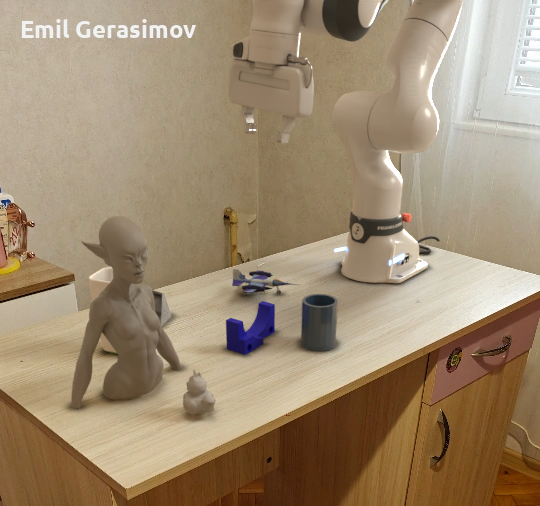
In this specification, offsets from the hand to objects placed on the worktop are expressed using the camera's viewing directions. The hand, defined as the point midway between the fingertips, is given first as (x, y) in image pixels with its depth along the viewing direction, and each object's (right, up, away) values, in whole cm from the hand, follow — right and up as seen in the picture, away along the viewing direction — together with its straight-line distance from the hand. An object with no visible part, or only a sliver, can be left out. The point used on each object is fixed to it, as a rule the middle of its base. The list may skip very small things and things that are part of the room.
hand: (265, 138), depth 133 cm
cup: (-28, -38, +7) cm, 48 cm away
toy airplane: (-1, -21, +31) cm, 38 cm away
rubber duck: (-11, -52, -13) cm, 55 cm away
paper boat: (-25, -29, +20) cm, 43 cm away
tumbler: (+10, -36, +9) cm, 39 cm away
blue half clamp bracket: (-2, -36, +10) cm, 38 cm away
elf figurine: (-22, -48, -7) cm, 54 cm away
